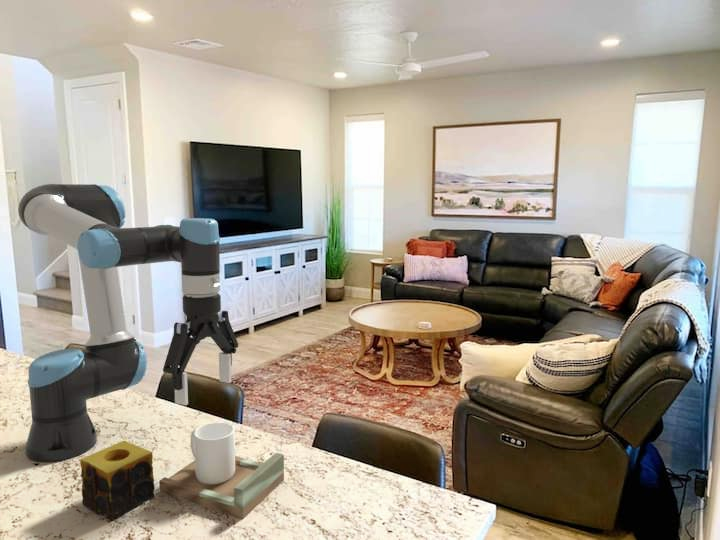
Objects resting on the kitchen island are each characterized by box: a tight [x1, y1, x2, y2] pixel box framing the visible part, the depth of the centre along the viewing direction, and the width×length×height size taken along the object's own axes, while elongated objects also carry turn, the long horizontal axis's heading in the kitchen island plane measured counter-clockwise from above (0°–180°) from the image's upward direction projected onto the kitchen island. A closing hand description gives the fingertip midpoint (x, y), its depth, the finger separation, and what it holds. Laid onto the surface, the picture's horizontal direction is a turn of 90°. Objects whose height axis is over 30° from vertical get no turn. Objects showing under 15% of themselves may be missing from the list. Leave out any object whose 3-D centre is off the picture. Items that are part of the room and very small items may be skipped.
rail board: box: [158, 452, 285, 519], centre depth 111 cm, size 21×15×6 cm
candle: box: [79, 440, 155, 522], centre depth 105 cm, size 10×10×10 cm
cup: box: [190, 421, 236, 485], centre depth 113 cm, size 8×12×10 cm
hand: (204, 392), depth 110 cm, fingers open, 13 cm apart
